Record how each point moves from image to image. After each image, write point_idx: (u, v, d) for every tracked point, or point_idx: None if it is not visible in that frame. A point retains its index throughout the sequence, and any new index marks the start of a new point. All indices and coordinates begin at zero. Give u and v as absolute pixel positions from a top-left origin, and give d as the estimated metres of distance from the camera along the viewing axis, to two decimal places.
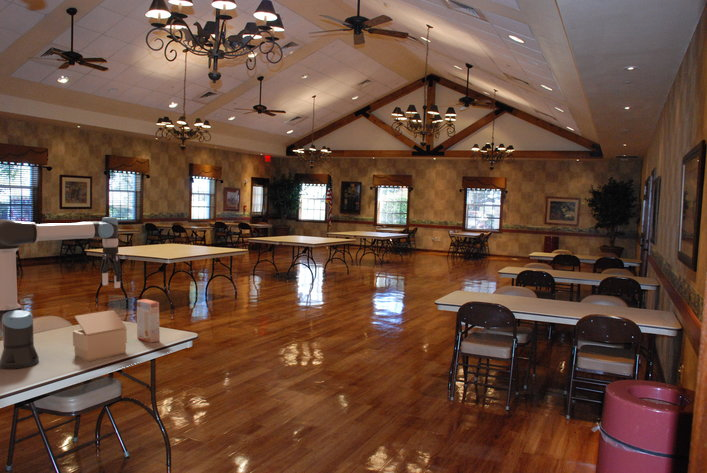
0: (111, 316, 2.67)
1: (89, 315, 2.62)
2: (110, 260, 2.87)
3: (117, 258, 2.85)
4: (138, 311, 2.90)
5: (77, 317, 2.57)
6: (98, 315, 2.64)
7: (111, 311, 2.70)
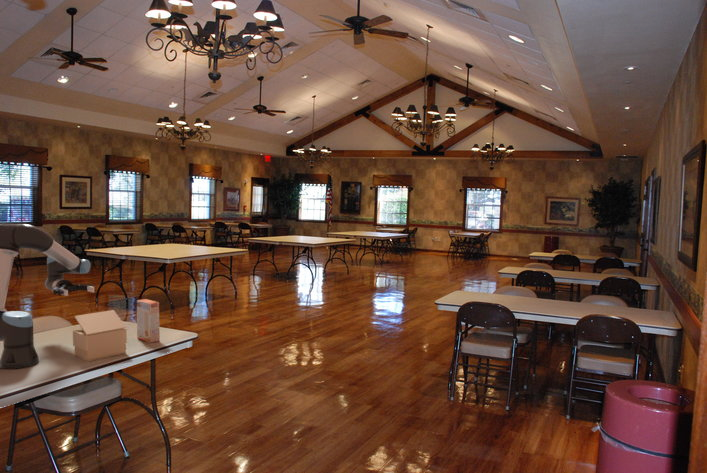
0: (111, 316, 2.67)
1: (89, 315, 2.62)
2: None
3: None
4: (138, 311, 2.90)
5: (77, 317, 2.57)
6: (98, 315, 2.64)
7: (111, 311, 2.70)
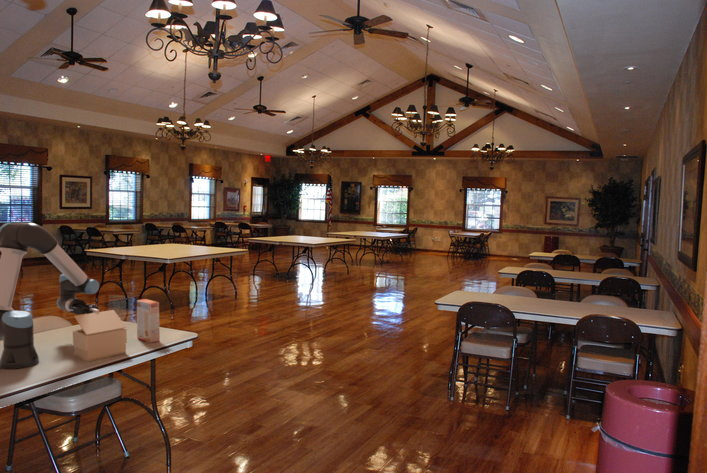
0: (111, 316, 2.67)
1: (89, 315, 2.62)
2: (86, 304, 2.77)
3: None
4: (138, 311, 2.90)
5: (77, 317, 2.57)
6: (98, 315, 2.64)
7: (111, 311, 2.70)
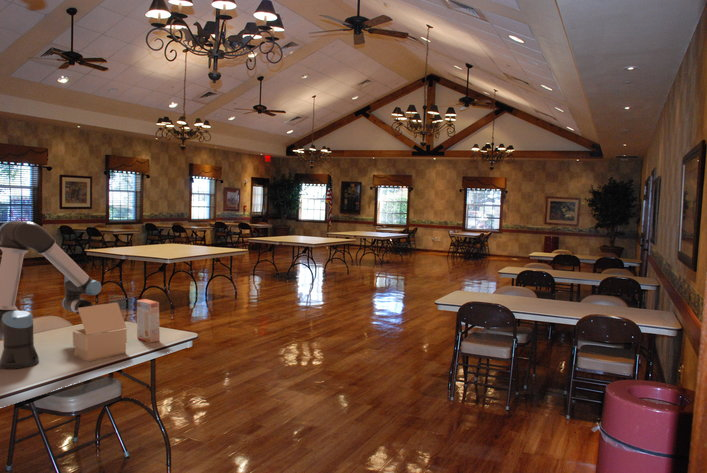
0: (114, 311, 2.65)
1: (92, 308, 2.59)
2: (93, 305, 2.74)
3: None
4: (138, 311, 2.90)
5: (80, 310, 2.55)
6: (101, 308, 2.61)
7: (115, 304, 2.67)
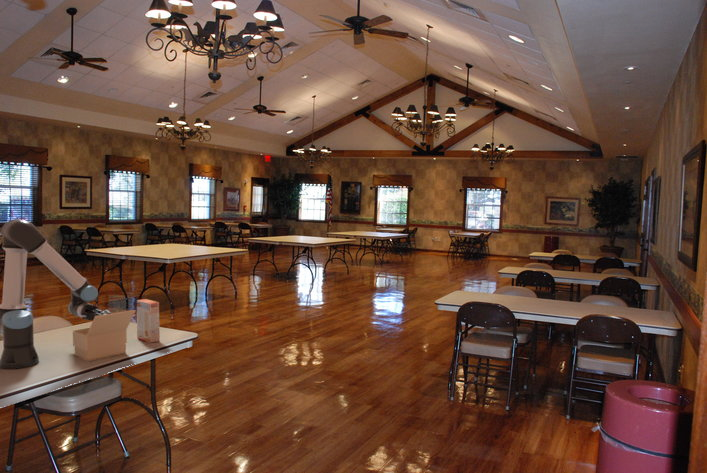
0: (126, 318, 2.57)
1: (108, 316, 2.48)
2: (99, 310, 2.65)
3: None
4: (138, 311, 2.90)
5: (96, 318, 2.44)
6: (116, 316, 2.52)
7: (132, 312, 2.56)
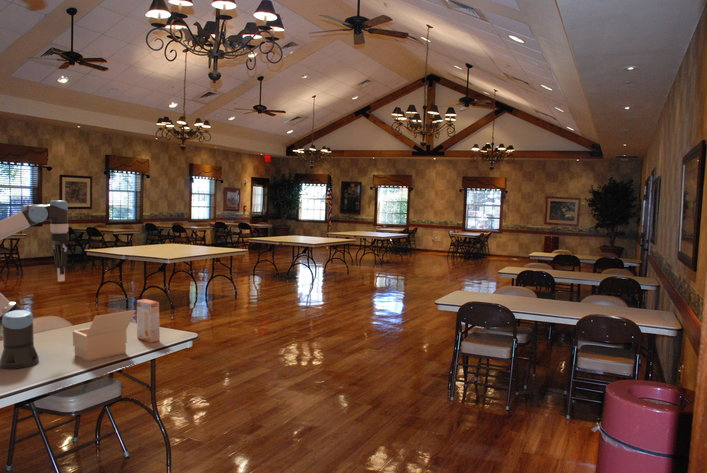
0: (126, 318, 2.57)
1: (108, 316, 2.48)
2: (58, 249, 2.63)
3: (66, 250, 2.62)
4: (138, 311, 2.90)
5: (96, 318, 2.44)
6: (116, 316, 2.52)
7: (132, 312, 2.56)
